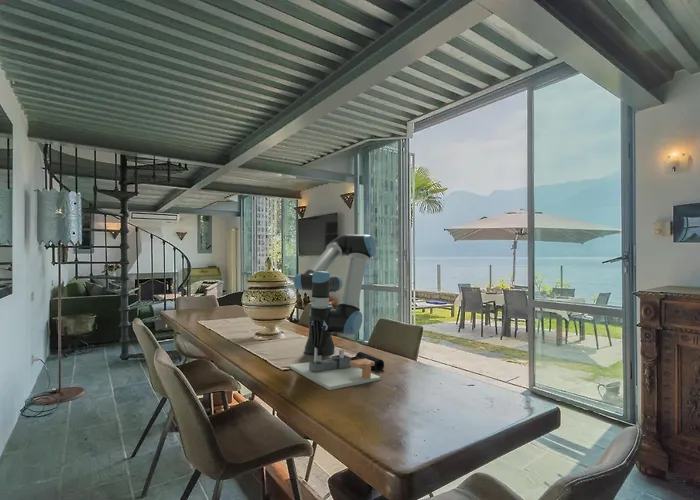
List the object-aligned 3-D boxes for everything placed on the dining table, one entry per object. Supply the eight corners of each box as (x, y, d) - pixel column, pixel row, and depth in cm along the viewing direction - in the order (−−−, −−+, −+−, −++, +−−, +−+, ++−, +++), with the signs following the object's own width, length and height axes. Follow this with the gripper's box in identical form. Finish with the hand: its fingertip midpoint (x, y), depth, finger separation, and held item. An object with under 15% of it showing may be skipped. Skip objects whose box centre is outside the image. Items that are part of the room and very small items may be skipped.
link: (342, 363, 168) (343, 354, 168) (350, 367, 163) (351, 357, 163) (307, 369, 158) (308, 359, 158) (315, 372, 153) (315, 362, 153)
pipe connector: (363, 361, 160) (343, 353, 173) (362, 374, 160) (343, 365, 173) (384, 358, 166) (364, 351, 179) (383, 371, 166) (363, 362, 179)
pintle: (341, 368, 165) (342, 350, 165) (344, 370, 163) (344, 351, 164) (337, 369, 164) (338, 350, 164) (340, 370, 162) (341, 351, 162)
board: (335, 360, 178) (335, 358, 178) (380, 379, 152) (380, 376, 152) (289, 367, 164) (289, 364, 164) (329, 390, 138) (329, 386, 138)
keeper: (364, 375, 157) (365, 358, 157) (376, 380, 151) (376, 362, 151) (348, 378, 152) (349, 360, 152) (359, 383, 146) (360, 365, 146)
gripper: (304, 305, 168) (302, 359, 167) (320, 309, 157) (317, 367, 156) (319, 305, 172) (317, 358, 171) (335, 308, 161) (333, 365, 161)
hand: (317, 362), depth 164 cm, fingers closed
